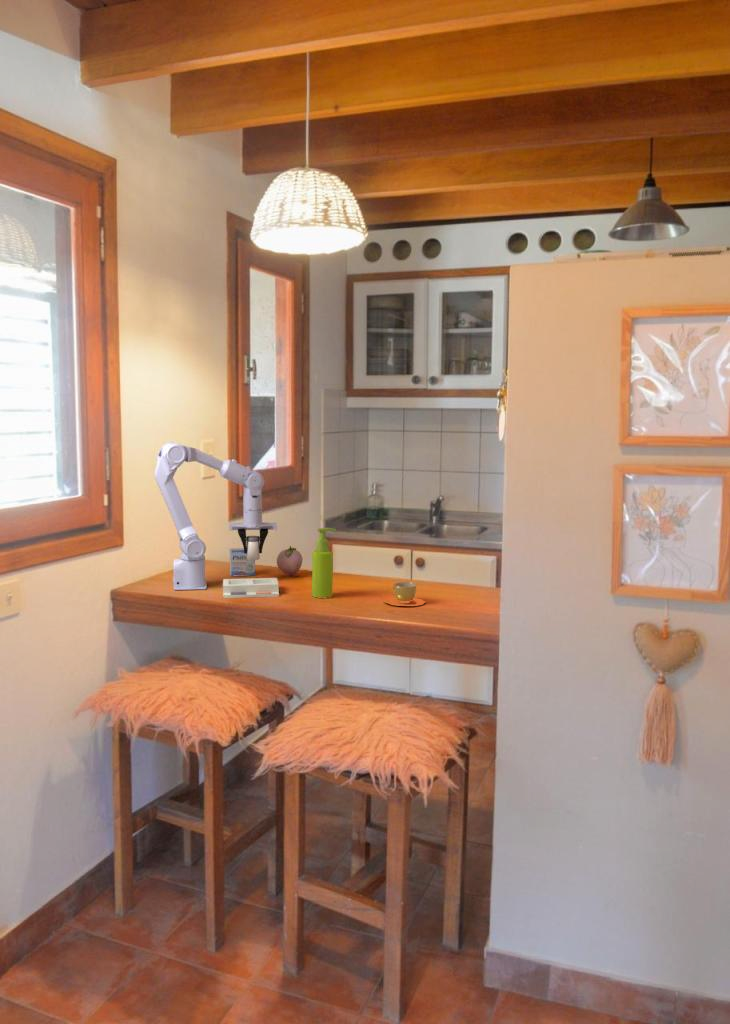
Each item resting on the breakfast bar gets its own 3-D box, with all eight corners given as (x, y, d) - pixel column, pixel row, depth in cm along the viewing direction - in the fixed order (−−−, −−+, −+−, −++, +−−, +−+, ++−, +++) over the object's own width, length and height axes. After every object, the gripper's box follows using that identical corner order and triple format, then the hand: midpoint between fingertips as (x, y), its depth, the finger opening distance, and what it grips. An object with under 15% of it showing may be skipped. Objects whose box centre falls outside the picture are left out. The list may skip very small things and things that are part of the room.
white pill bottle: (246, 560, 241) (246, 537, 240) (246, 557, 245) (246, 535, 244) (260, 560, 242) (259, 537, 241) (259, 557, 246) (259, 535, 245)
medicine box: (230, 576, 252) (230, 550, 251) (229, 574, 257) (229, 548, 255) (255, 575, 254) (255, 549, 253) (253, 573, 259) (253, 547, 257)
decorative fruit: (278, 573, 259) (278, 543, 257) (303, 573, 259) (303, 543, 257) (275, 579, 249) (275, 548, 248) (300, 579, 249) (300, 548, 248)
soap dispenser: (337, 598, 226) (338, 529, 223) (313, 598, 224) (314, 530, 222) (333, 593, 232) (334, 526, 229) (310, 594, 230) (311, 526, 228)
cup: (427, 609, 216) (427, 589, 215) (383, 608, 216) (383, 589, 215) (424, 598, 228) (425, 580, 227) (383, 597, 228) (383, 579, 227)
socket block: (223, 598, 224) (222, 587, 224) (223, 588, 235) (223, 579, 235) (279, 596, 227) (279, 586, 226) (276, 587, 238) (276, 577, 238)
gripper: (228, 511, 236) (229, 555, 238) (277, 510, 239) (277, 554, 241) (228, 508, 243) (229, 551, 245) (275, 508, 246) (275, 550, 247)
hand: (253, 552), depth 243 cm, fingers closed on white pill bottle, 4 cm apart
